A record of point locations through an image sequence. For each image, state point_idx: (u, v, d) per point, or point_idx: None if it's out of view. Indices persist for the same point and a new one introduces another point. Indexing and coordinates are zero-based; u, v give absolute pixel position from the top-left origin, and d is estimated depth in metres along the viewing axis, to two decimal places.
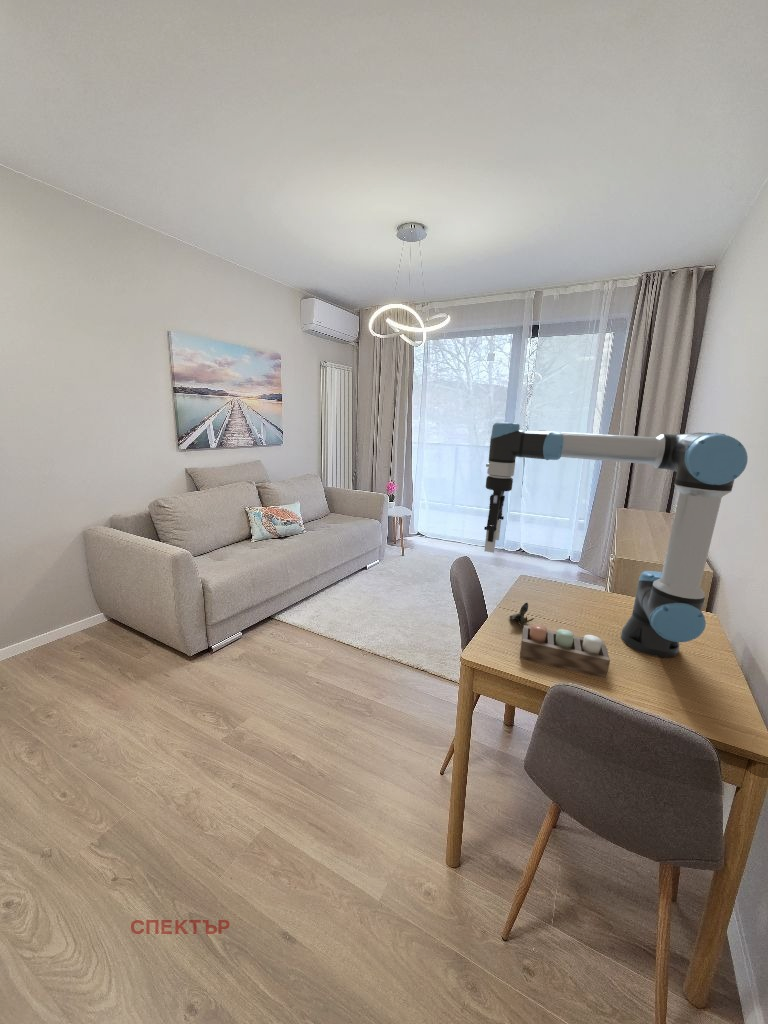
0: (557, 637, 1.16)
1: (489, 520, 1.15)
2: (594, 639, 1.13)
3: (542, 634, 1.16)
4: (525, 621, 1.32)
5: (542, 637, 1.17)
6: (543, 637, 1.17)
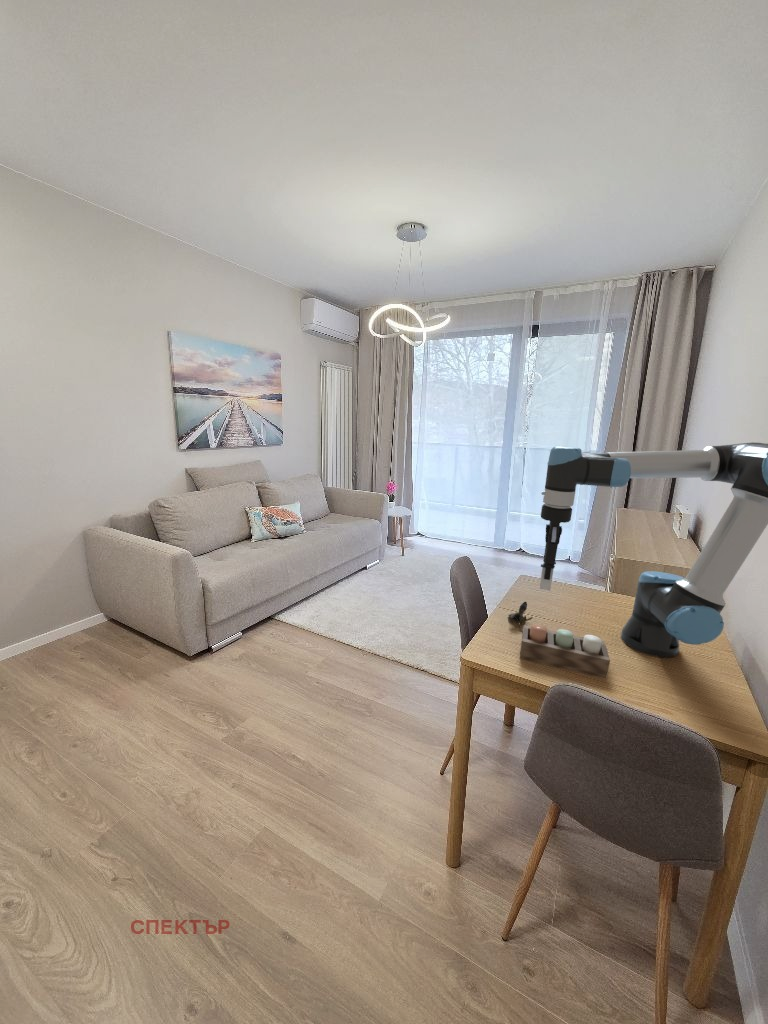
0: (557, 637, 1.16)
1: (547, 560, 1.09)
2: (594, 639, 1.13)
3: (542, 634, 1.16)
4: (524, 620, 1.33)
5: (542, 637, 1.17)
6: (543, 637, 1.17)
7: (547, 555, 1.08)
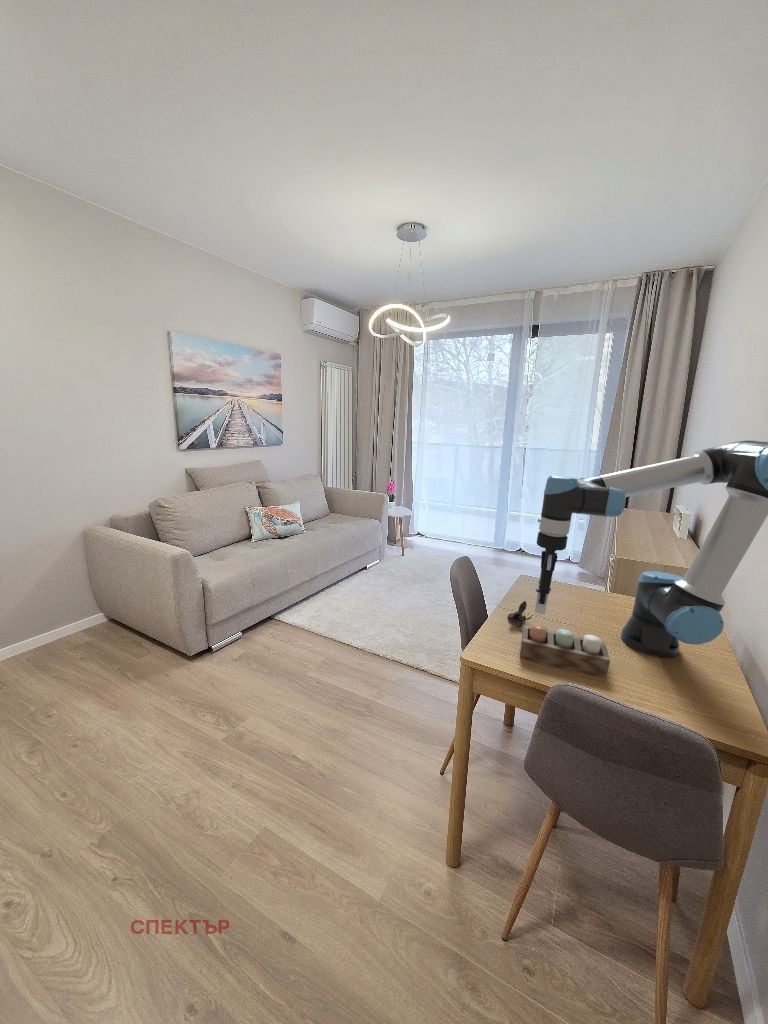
0: (557, 637, 1.16)
1: (542, 586, 1.11)
2: (594, 639, 1.13)
3: (542, 634, 1.16)
4: (523, 619, 1.34)
5: (542, 637, 1.17)
6: (543, 637, 1.17)
7: (542, 582, 1.11)
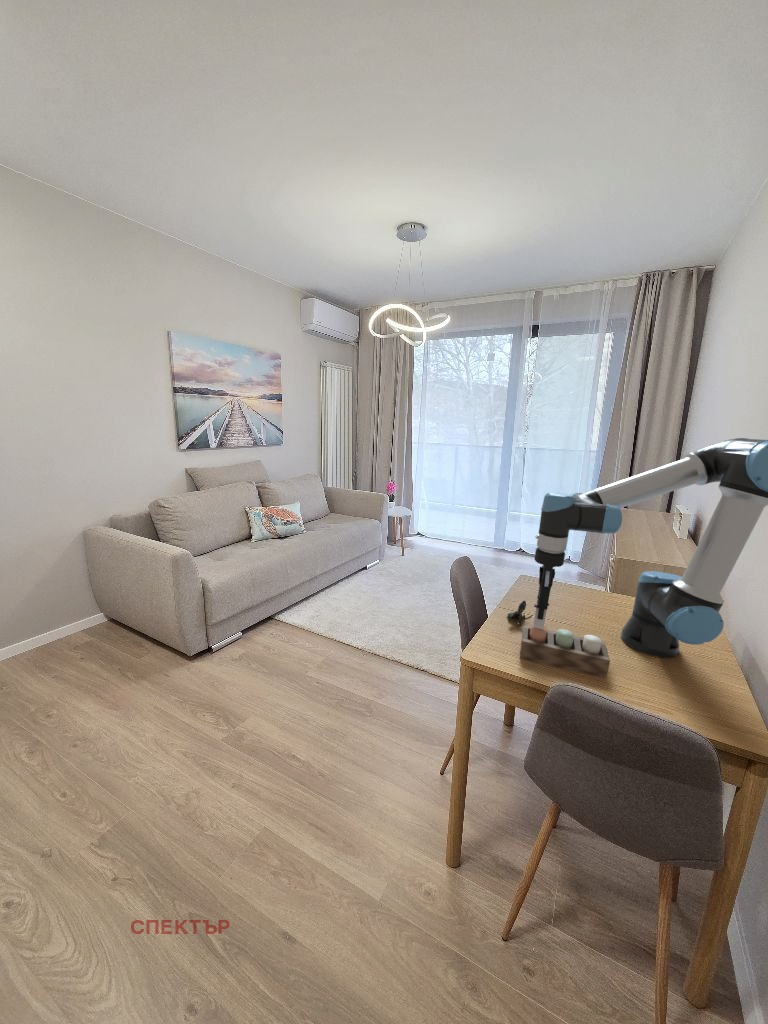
0: (557, 637, 1.16)
1: (540, 602, 1.12)
2: (594, 639, 1.13)
3: (542, 635, 1.16)
4: (523, 619, 1.34)
5: (542, 638, 1.17)
6: (543, 638, 1.17)
7: (540, 598, 1.12)
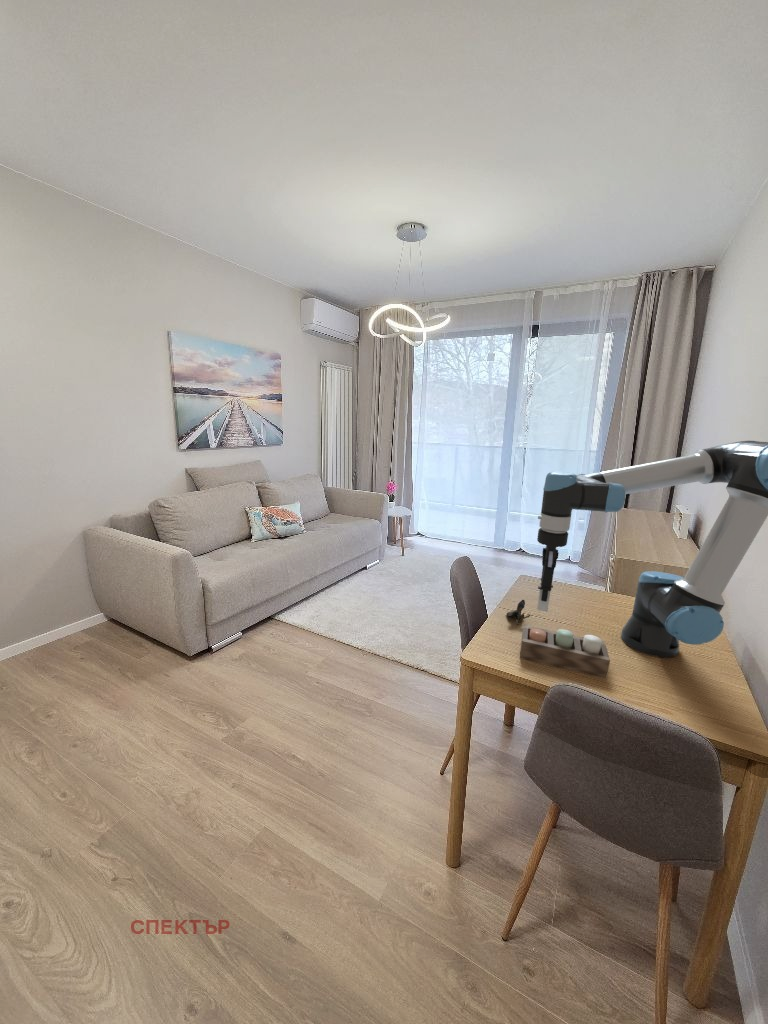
0: (557, 637, 1.16)
1: (544, 583, 1.11)
2: (594, 639, 1.13)
3: (541, 639, 1.17)
4: (522, 618, 1.35)
5: None
6: (542, 642, 1.17)
7: (544, 579, 1.11)
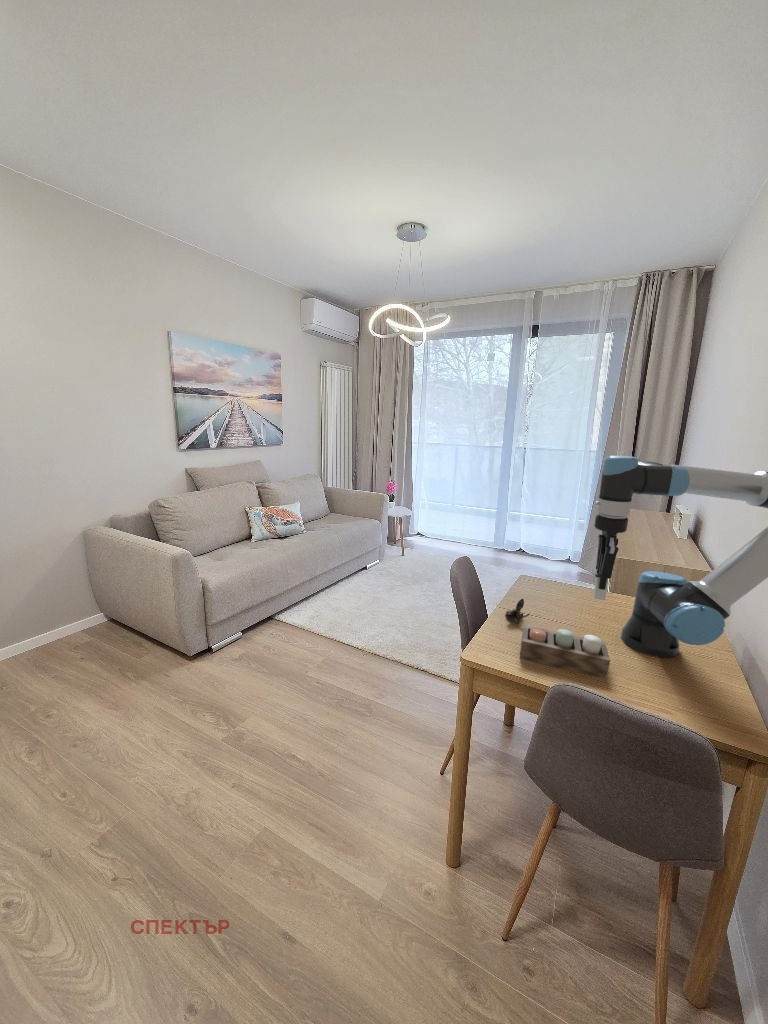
0: (557, 637, 1.16)
1: (604, 570, 1.08)
2: (594, 639, 1.13)
3: (541, 639, 1.17)
4: (521, 617, 1.35)
5: None
6: (542, 642, 1.17)
7: (604, 566, 1.07)
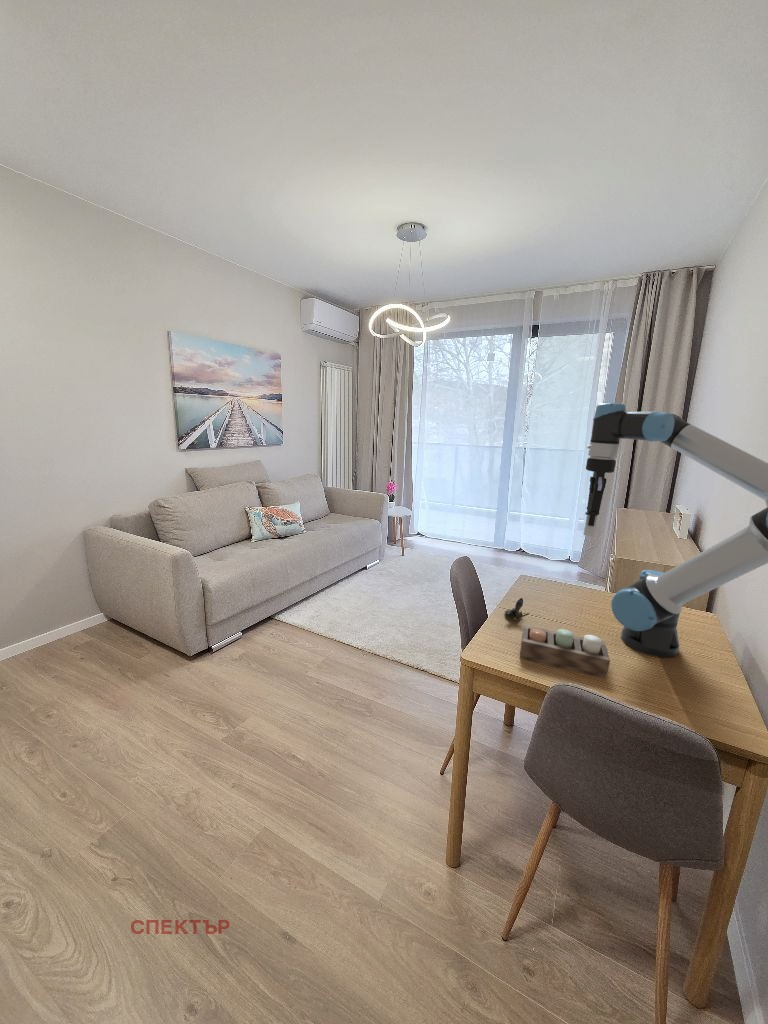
0: (557, 637, 1.16)
1: (592, 507, 1.21)
2: (594, 639, 1.13)
3: (541, 639, 1.17)
4: (520, 616, 1.36)
5: None
6: (542, 642, 1.17)
7: (593, 503, 1.20)
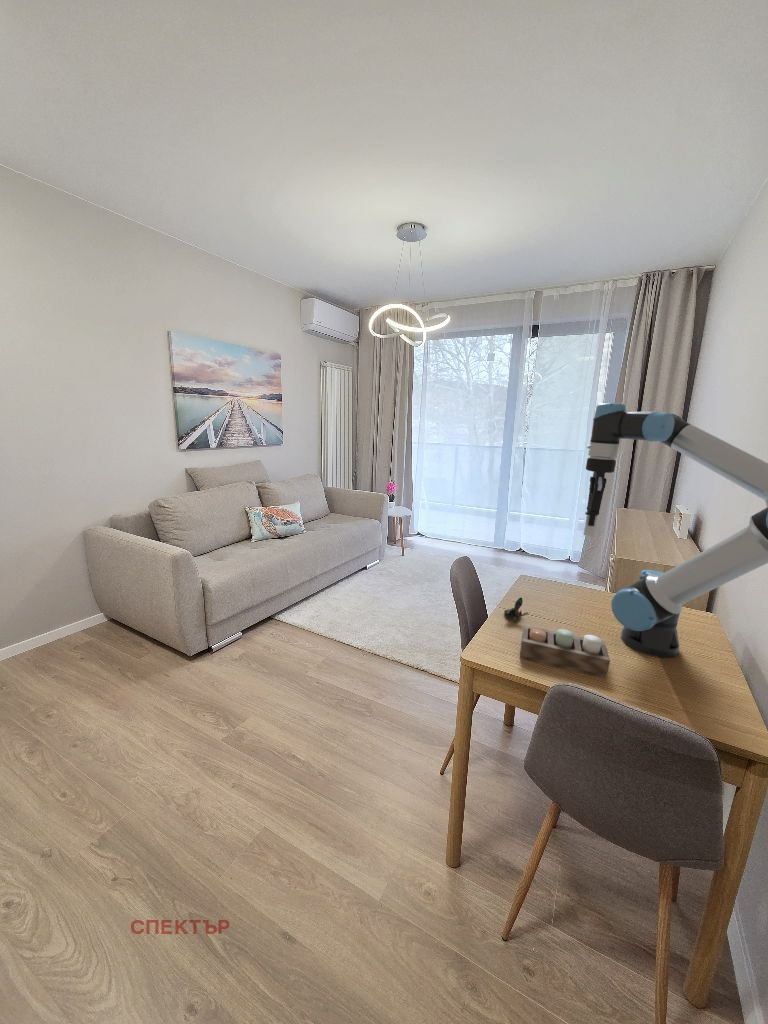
0: (557, 637, 1.16)
1: (592, 507, 1.21)
2: (594, 639, 1.13)
3: (541, 639, 1.17)
4: (519, 615, 1.36)
5: None
6: (542, 642, 1.17)
7: (593, 503, 1.20)
